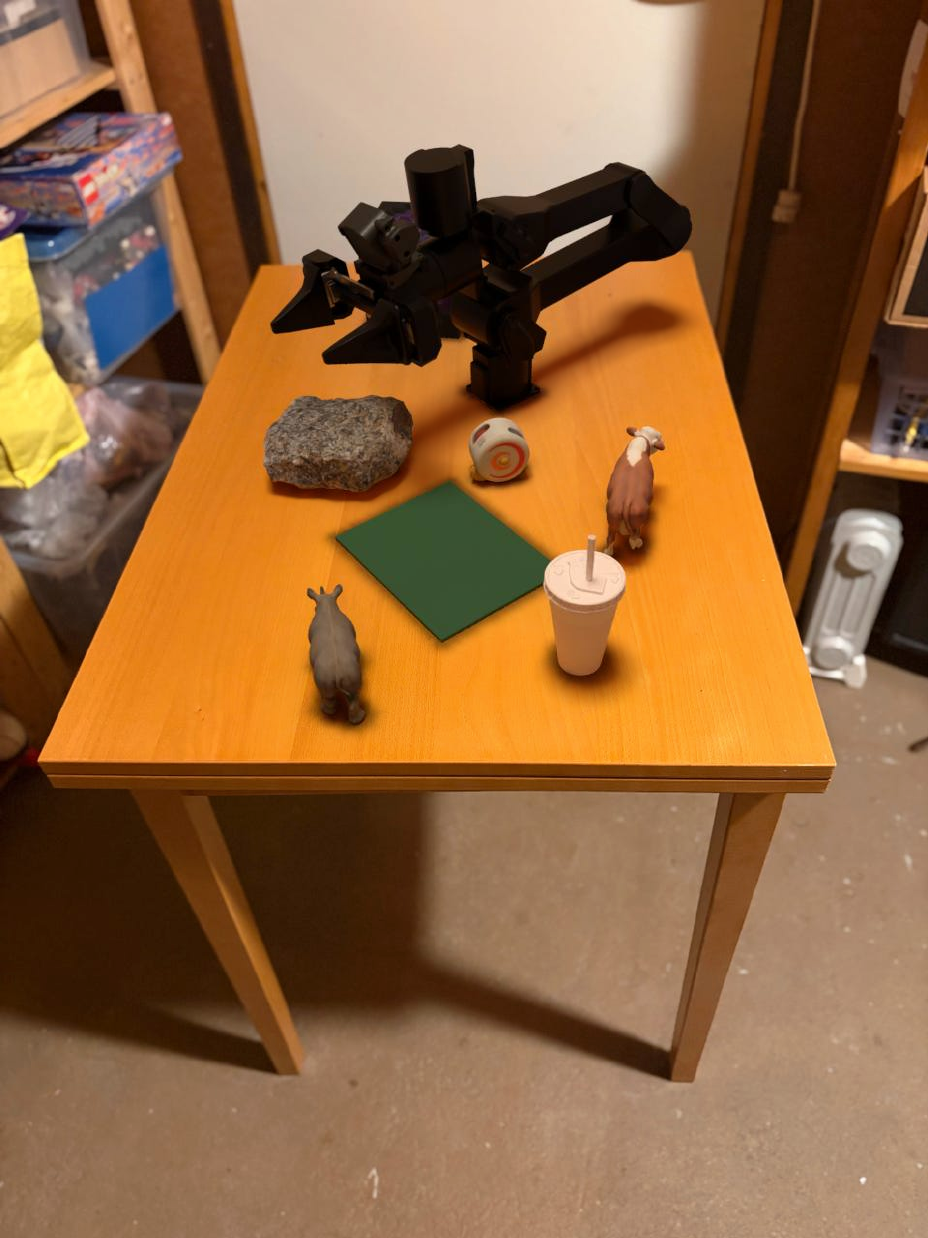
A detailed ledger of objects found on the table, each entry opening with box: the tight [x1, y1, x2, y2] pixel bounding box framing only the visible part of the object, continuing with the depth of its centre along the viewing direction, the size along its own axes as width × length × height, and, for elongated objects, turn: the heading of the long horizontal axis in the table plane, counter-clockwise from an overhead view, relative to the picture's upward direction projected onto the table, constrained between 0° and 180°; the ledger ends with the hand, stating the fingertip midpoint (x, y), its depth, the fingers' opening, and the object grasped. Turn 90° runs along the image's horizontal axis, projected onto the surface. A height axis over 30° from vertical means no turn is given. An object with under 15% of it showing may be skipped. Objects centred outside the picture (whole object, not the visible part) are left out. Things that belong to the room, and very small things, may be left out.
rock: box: [262, 394, 414, 493], centre depth 98 cm, size 13×6×15 cm
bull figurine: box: [603, 425, 666, 557], centre depth 88 cm, size 4×13×8 cm, turn 161°
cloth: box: [334, 480, 552, 643], centre depth 89 cm, size 14×18×1 cm
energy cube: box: [357, 200, 462, 339], centre depth 119 cm, size 12×12×12 cm
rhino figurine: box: [306, 583, 366, 724], centre depth 77 cm, size 4×14×6 cm, turn 12°
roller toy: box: [468, 417, 531, 483], centre depth 95 cm, size 4×6×6 cm
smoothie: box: [542, 534, 627, 677], centre depth 74 cm, size 6×6×14 cm
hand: (296, 343), depth 86 cm, fingers open, 9 cm apart
